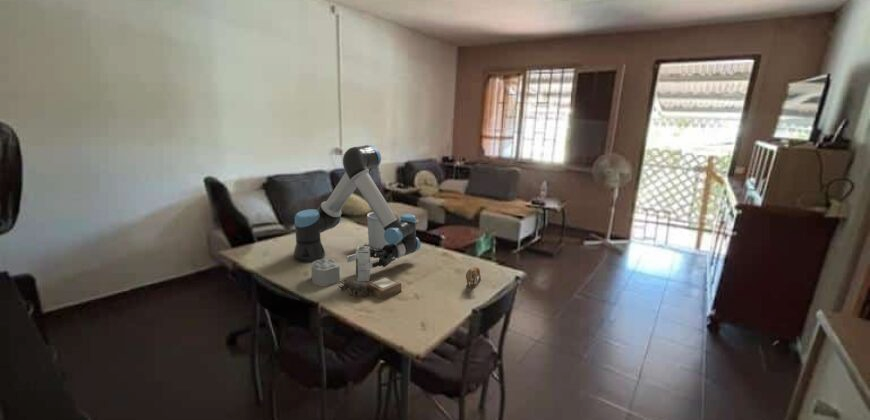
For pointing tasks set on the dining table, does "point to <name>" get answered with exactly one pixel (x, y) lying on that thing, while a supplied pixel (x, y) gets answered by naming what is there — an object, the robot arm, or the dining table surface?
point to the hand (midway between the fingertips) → (356, 263)
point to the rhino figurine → (356, 287)
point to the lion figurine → (472, 276)
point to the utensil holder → (375, 232)
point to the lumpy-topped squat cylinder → (325, 272)
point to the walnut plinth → (384, 287)
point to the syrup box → (362, 263)
